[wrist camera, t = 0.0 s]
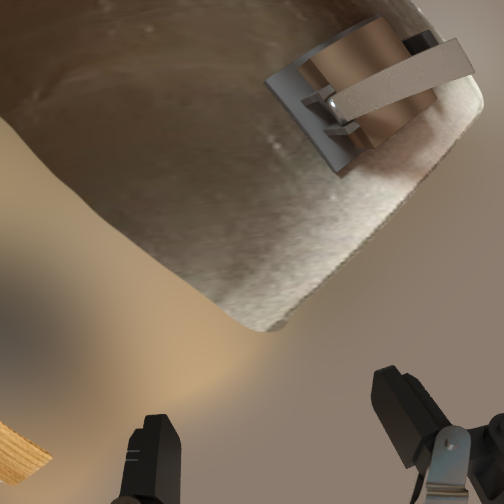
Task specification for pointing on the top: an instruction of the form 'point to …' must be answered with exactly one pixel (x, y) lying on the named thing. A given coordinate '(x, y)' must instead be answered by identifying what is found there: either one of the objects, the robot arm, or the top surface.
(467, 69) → the strap
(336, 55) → the latch block
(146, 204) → the top surface
